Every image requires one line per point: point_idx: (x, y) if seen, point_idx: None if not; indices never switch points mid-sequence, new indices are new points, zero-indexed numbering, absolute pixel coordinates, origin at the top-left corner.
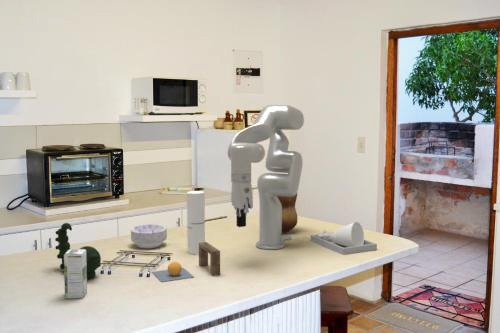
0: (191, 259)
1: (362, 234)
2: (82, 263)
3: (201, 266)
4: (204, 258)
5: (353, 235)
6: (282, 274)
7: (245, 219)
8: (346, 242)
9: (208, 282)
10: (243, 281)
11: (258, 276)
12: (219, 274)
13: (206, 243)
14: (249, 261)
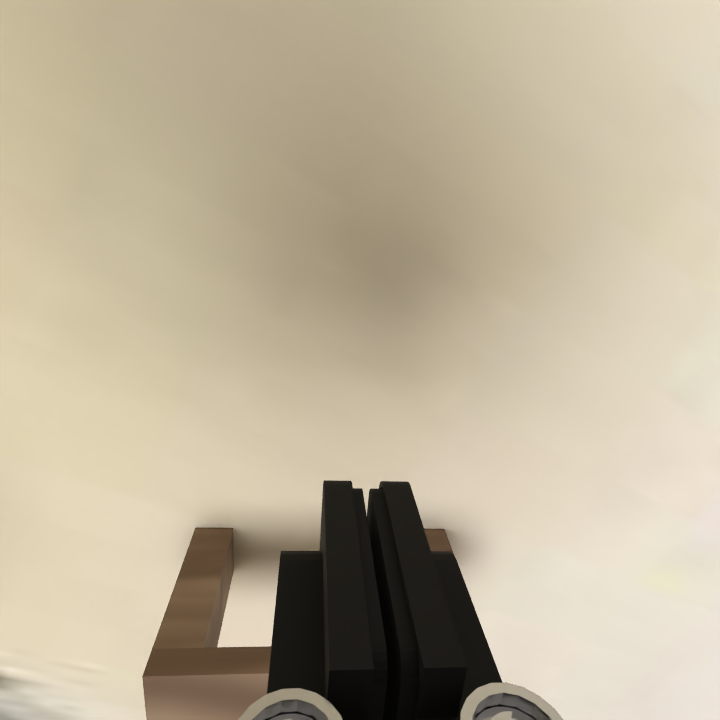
0: (36, 570)
1: None
2: None
3: (232, 567)
4: (222, 590)
5: None
6: (696, 167)
7: (435, 589)
8: None
9: (524, 619)
10: (630, 466)
11: (616, 346)
12: (444, 534)
13: (201, 687)
14: (265, 221)
